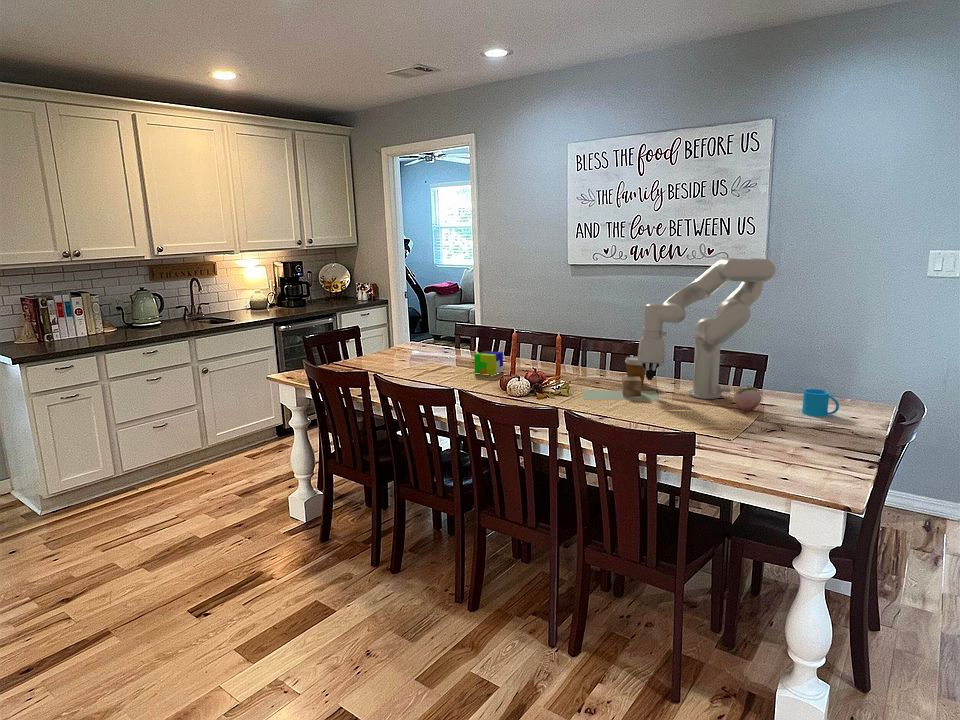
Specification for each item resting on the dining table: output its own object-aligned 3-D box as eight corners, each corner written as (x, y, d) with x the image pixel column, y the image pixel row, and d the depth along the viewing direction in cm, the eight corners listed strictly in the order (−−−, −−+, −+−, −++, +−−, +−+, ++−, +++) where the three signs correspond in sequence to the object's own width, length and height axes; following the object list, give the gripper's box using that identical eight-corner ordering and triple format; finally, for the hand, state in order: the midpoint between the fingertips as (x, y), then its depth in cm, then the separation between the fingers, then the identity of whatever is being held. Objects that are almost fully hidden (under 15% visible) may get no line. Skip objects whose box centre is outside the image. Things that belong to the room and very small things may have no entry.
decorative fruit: (747, 407, 242) (749, 381, 240) (764, 412, 234) (766, 386, 232) (727, 410, 238) (729, 384, 236) (743, 416, 231) (745, 389, 229)
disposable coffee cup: (624, 387, 276) (624, 360, 273) (624, 382, 285) (625, 356, 283) (647, 388, 274) (647, 360, 271) (646, 383, 283) (647, 356, 280)
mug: (798, 413, 232) (799, 391, 231) (807, 409, 238) (809, 387, 236) (833, 420, 224) (835, 397, 222) (842, 415, 229) (844, 393, 227)
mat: (655, 392, 267) (655, 391, 267) (660, 401, 253) (660, 400, 252) (582, 391, 271) (582, 390, 271) (582, 400, 257) (582, 399, 257)
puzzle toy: (503, 372, 311) (502, 352, 309) (492, 376, 302) (492, 355, 301) (485, 370, 316) (484, 350, 314) (474, 374, 308) (474, 354, 306)
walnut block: (639, 393, 264) (639, 376, 263) (640, 397, 257) (641, 380, 256) (621, 393, 265) (622, 376, 264) (623, 397, 258) (623, 380, 257)
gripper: (670, 333, 258) (667, 378, 261) (632, 332, 260) (629, 376, 263) (673, 336, 250) (669, 382, 254) (634, 335, 253) (631, 380, 256)
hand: (649, 379), depth 259 cm, fingers closed
